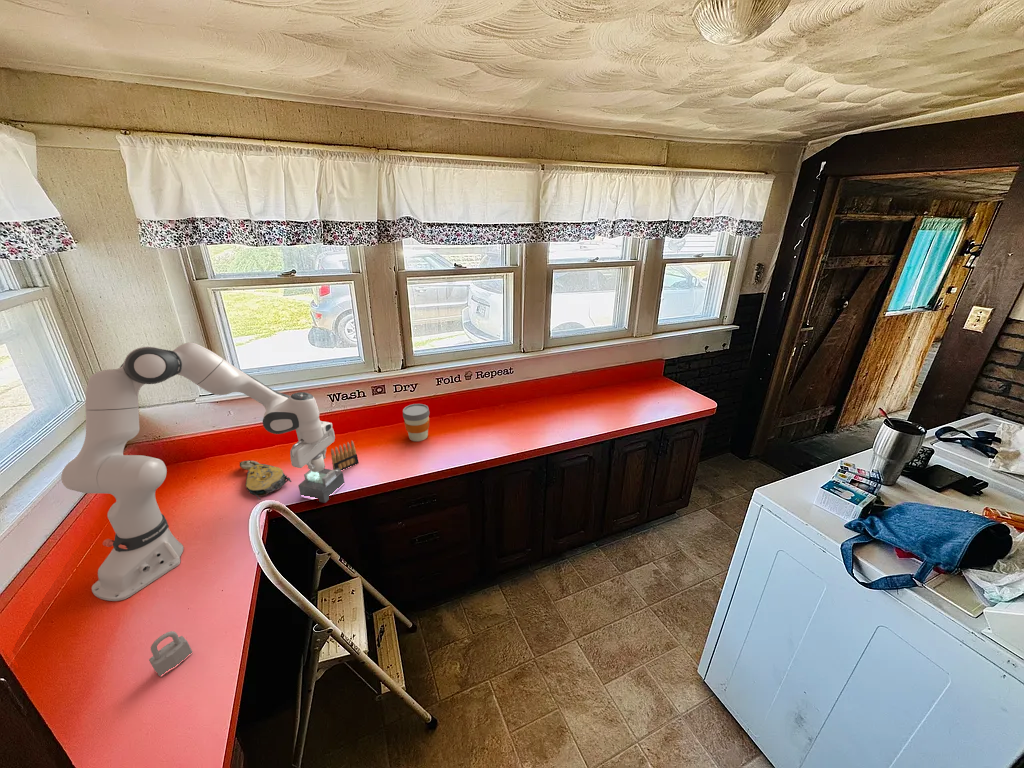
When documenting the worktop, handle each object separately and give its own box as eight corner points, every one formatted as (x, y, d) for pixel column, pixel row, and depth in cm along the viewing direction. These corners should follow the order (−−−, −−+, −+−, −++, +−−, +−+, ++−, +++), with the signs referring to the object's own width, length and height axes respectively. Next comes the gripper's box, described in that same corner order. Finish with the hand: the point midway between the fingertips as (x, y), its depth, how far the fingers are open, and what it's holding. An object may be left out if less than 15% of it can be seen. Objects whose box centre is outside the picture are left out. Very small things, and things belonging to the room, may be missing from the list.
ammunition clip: (335, 474, 175) (330, 450, 170) (333, 472, 176) (328, 448, 171) (359, 463, 182) (354, 440, 177) (356, 461, 183) (352, 438, 178)
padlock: (161, 679, 100) (147, 653, 96) (154, 670, 102) (139, 644, 98) (194, 654, 106) (181, 628, 102) (186, 646, 108) (174, 620, 103)
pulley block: (261, 446, 182) (290, 474, 164) (266, 456, 185) (296, 484, 167) (227, 464, 173) (254, 496, 156) (233, 474, 176) (260, 506, 159)
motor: (325, 502, 158) (320, 484, 154) (301, 497, 161) (296, 478, 157) (350, 478, 172) (347, 460, 168) (328, 473, 175) (324, 456, 171)
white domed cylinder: (319, 472, 158) (316, 459, 155) (308, 470, 159) (305, 457, 157) (327, 465, 162) (325, 452, 160) (317, 463, 163) (314, 450, 161)
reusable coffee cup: (405, 444, 196) (402, 417, 190) (405, 431, 207) (402, 405, 201) (432, 441, 198) (429, 414, 192) (430, 428, 210) (428, 402, 203)
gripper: (297, 449, 144) (305, 481, 150) (334, 421, 162) (340, 450, 168) (282, 446, 146) (290, 478, 151) (321, 419, 164) (327, 448, 169)
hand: (317, 463), depth 160 cm, fingers closed on white domed cylinder, 5 cm apart
